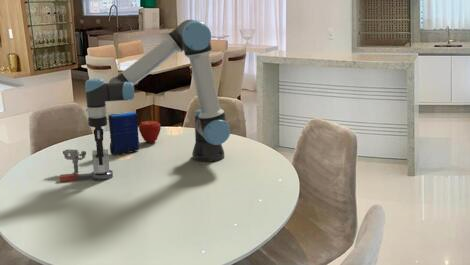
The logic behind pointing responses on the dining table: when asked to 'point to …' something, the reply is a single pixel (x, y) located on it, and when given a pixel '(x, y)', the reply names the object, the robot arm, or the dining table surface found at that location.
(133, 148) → the blue box
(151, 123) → the apple
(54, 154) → the dining table surface
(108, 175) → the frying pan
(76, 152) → the mechanical component
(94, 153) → the gray rectangular block
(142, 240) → the dining table surface
